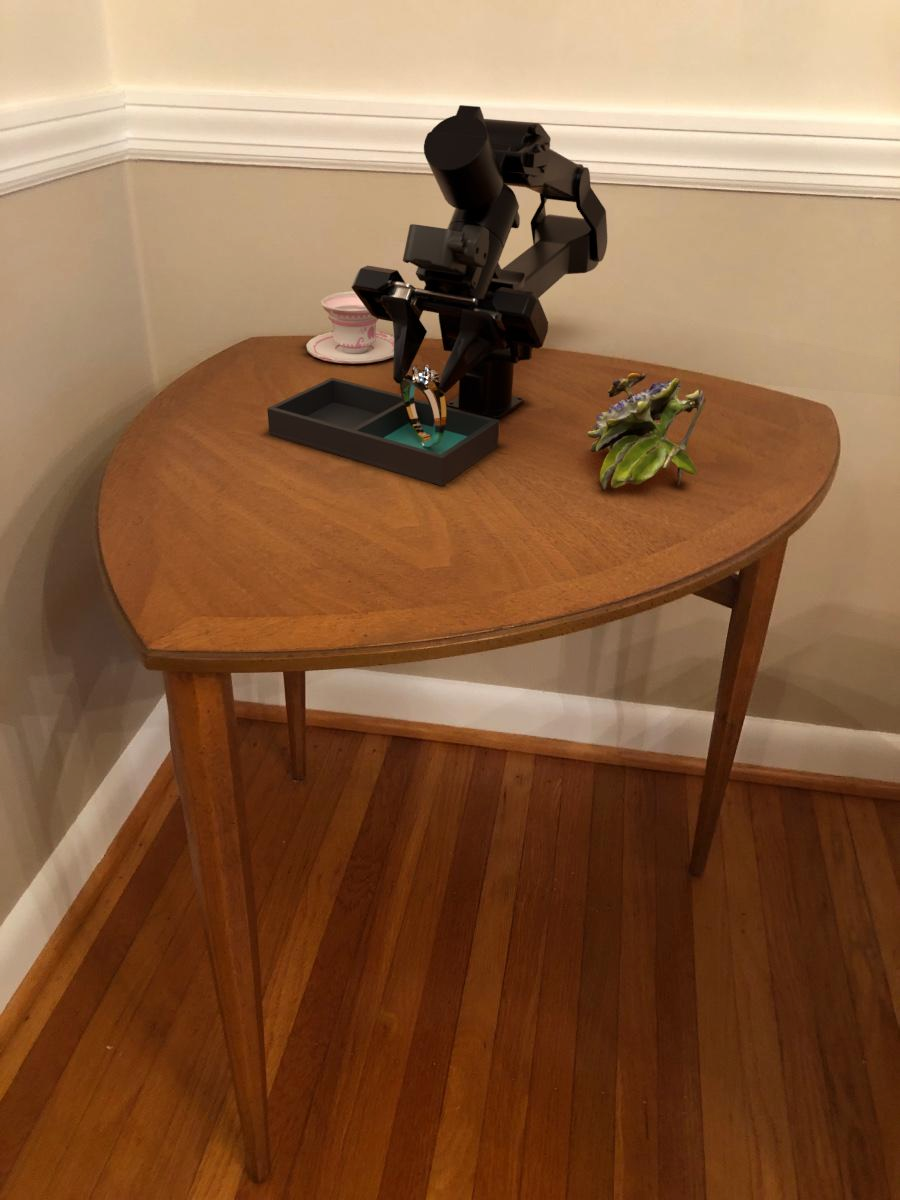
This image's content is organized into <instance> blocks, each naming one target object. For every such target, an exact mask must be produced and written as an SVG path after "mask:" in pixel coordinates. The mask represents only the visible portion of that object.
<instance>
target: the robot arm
mask: <svg viewBox="0 0 900 1200" xmlns="http://www.w3.org/2000/svg"><path fill="white" fill-rule="evenodd" d="M551 140H552V139H551V136H550V135H549V134H548V132H547V131H546V130H545V128H544V127H543V125H542V124H541V123H540V122H529V121H517V120H506V119H505V120H504V119H493V118H484V114H483V111H482V108H481V106H476V105H466V104H465V105H464V104H460V105H458V109H457V111H456V114H455V115H452V116H448V117H446V118H445V119H443V120H442V121H440V122H438V124H436V125H435V126H434V127H433V128H432V130H431V131H429V132H428V133H427V135H426V136H425V139H424V143H423V154H424V157H425V159H426V161H427V164H428V166H429V168H430V170H431V172H432V175H433V177H434V178H435V179H434V180H435V181H436V183H437V185H438V187H439V189H440V191H441V194H442V196H443V198H444V200H445V201H446V203H447V204H448V205H450V206H451V207H452V208H454V211H453V213H452V215H451V218H450V221H449V224H448V226H447V228H444V227H443V228H442V227H438V226H437V227H436V226H429V225H422V224H416V223H415V224H414V223H410V224H409V226H408V232H407V237H406V241H405V247H404V252H403V255H402V256H403V257H402V262H404V263H406V264H409V263H410V264H412V265H414V266H416V267H417V268H416V271H415V275H416V277H417V278H418V280H419V281H420V282H424V283H425V285H424V287H423V288H419V287H415V286H414V285H412V284H411V283H407V282H406V281H405V280H404V278H403V277H402V274H400V272H399V270H398V269H392V268H386V267H380V266H375V265H365V266H363V267H360V268H359V270H358V271H357V272H356V274H355V277H354V279H353V282H352V285H351V290H352V291H354V292H355V293H356V295H357V296H358V297H359V299H360V300H361V302H362V303H363V304H364V306H365V307H366V308H367V310H368V311H369V312H370V314H371V315H372V316H374V317H376V318H377V319H378V320H382V321H386V322H392V326H393V327H392V329H393V337H394V357H393V371H392V372H393V373H392V376H393V380H394V382H395V383H396V384H398V385H400V384H401V382H402V381H403V379H404V377H405V376H407V375H408V373H409V371H410V369H411V367H412V366H413V363H414V361H415V358H416V356H417V354H418V352H419V349H420V347H421V346H422V344H423V342H424V339H425V337H426V335H427V333H428V331H427V329H426V327H425V325H424V324H423V323H422V321H421V318H422V317H421V316H422V315H423V312H429V313H435V314H438V323H439V329H440V334H441V335H440V336H441V341H442V347H443V351H444V352H450V354H449V356H448V358H447V361H446V363H445V366H444V368H443V371H442V374H441V377H440V380H439V390H440V392H441V393H444V394H446V393H448V391H450V390H451V389H452V388H453V387H454V386H456V384H457V383H458V396H456V397H455V398H453V399H451V400H450V401H447V402H446V407H450V408H454V409H458V410H461V411H465V412H469V413H473V414H477V415H481V416H485V417H489V418H493V419H497V420H499V421H500V420H501V419H502V418H504V417H505V416H507V415H508V414H509V413H511V412H513V411H514V410H516V409H517V408H518V407H520V406H522V405H524V403H525V399H524V397H521V396H517V395H513V388H514V387H513V386H514V385H513V384H514V372H515V369H514V368H515V364H518V363H519V362H521V361H529V360H531V359H532V355H533V354H532V352H533V349H541V348H542V347H543V346H544V344H545V340H546V339H547V338H546V337H547V336H548V332H549V321H548V318H547V315H546V313H545V311H544V308H543V306H542V303H541V301H540V299H539V298H540V297H542V296H543V295H544V294H545V293H546V292H547V291H548V290H549V289H550V288H551V287H552V286H554V285H555V284H556V283H557V282H558V281H560V280H561V279H562V278H563V277H564V276H565V275H577V274H587V273H589V272H591V271H594V270H595V269H596V267H597V266H598V265H599V263H600V262H602V261H603V260H604V257H605V255H606V253H607V252H606V251H607V247H608V224H607V210H606V208H605V207H604V204H603V203H602V202H601V200H600V199H599V197H598V195H596V193H595V191H594V190H593V188H592V187H591V186H592V185H591V175H590V173H591V172H590V169H589V167H588V166H587V167H586V166H584V165H583V163H582V164H581V163H576V162H574V161H572V160H571V159H569V158H567V157H565V156H563V155H562V154H560V153H559V152H557V151H555V150H553V149H551ZM511 187H519V188H527V189H529V190H531V191H534V192H535V193H538V194H539V199H540V204H539V205H538V207H537V208H536V210H535V213H534V214H533V216H532V217H531V220H530V229H531V236H532V244H533V245H531V246H530V247H528V248H527V249H526V250H525V251H523V252H522V253H521V254H519V255H518V256H516V258H514V259H513V260H512V261H510V262H509V263H508V264H507V265H505V266H504V267H503V268H502V267H501V265H500V263H499V262H500V259H501V257H502V254H503V251H504V249H505V246H506V243H507V242H508V241H507V240H508V238H509V236H510V233H511V230H512V229H519V227H520V224H521V218H520V217H521V216H520V213H519V209H520V205H519V202H518V199H517V196H516V193H515V192H514V190H513V189H512V188H511ZM548 200H553V201H560V202H570V203H575V206H576V209H577V211H578V212H579V214H580V215H581V217H574V216H566V215H558V214H547V213H546V212H547V211H546V204H547V201H548Z"/></svg>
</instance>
